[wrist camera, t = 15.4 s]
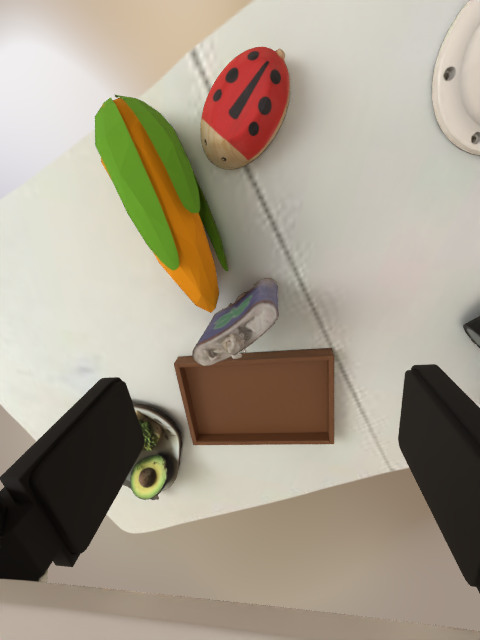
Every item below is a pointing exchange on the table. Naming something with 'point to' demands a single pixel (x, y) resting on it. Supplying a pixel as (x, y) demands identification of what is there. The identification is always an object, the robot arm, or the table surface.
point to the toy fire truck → (473, 330)
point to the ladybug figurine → (245, 107)
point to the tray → (260, 398)
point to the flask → (239, 324)
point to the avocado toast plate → (155, 454)
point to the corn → (161, 194)
